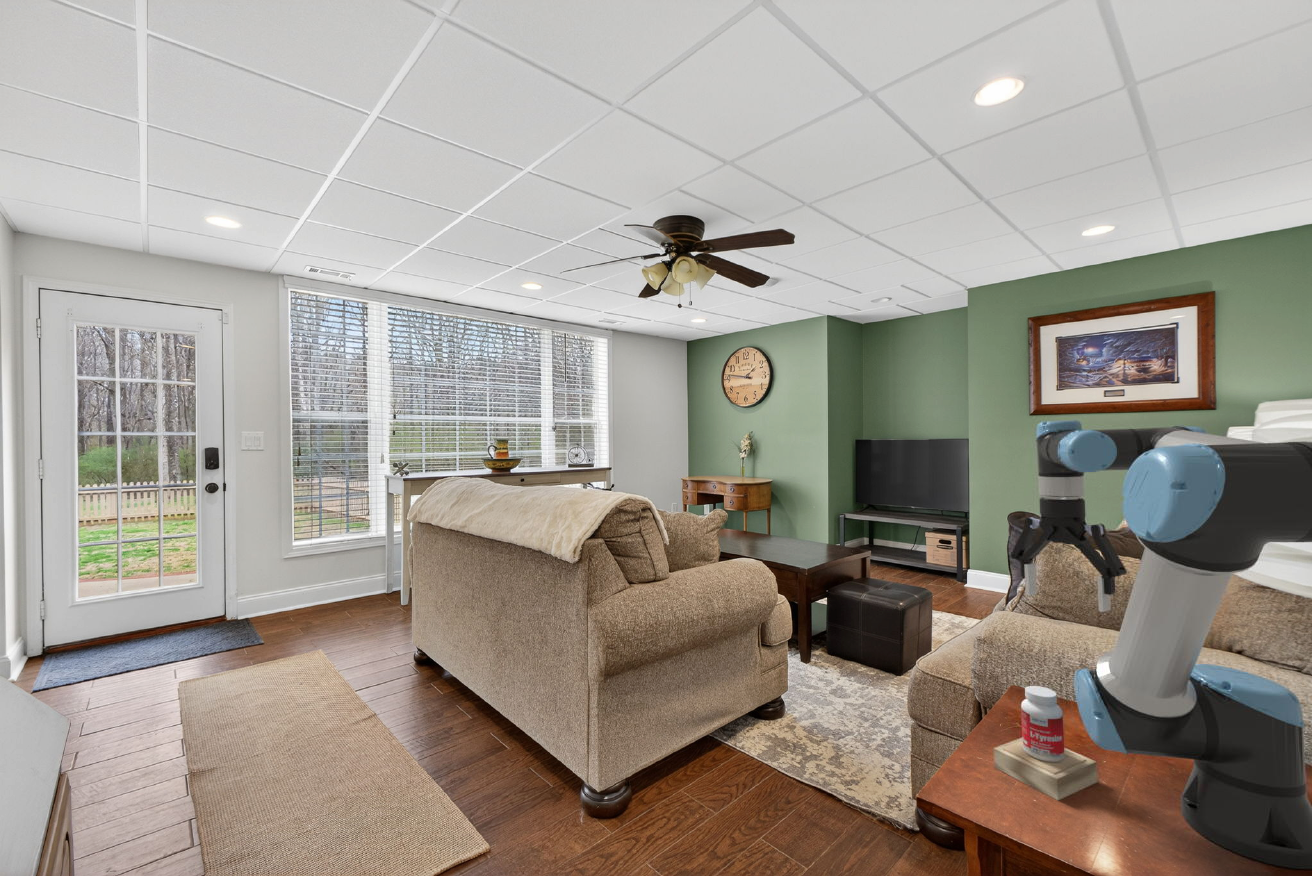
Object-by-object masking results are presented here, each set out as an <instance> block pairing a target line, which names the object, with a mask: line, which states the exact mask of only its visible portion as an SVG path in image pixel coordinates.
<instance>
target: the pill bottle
mask: <svg viewBox="0 0 1312 876" xmlns="http://www.w3.org/2000/svg"><path fill="white" fill-rule="evenodd" d="M1024 695H1025V699H1024V700H1022V701H1021V705H1020V707H1021V708H1020V710H1021V711H1020V713H1021V733H1022V737H1021V738H1022V740H1023V749H1024V750H1025V752H1026V753H1027V754H1029V755H1030V756H1032V757H1034V758H1036V759H1039V760H1043V761H1049V762H1059V761H1061V760H1063V759H1064V748H1065V734H1064V733H1065V729H1064V713H1063V710H1062V708H1061V707H1060V705H1058V704H1057V703H1058V695H1057V692H1055V691H1054V690H1053V689H1052V688H1048V687H1045V686H1038V685H1030V686H1026V687H1025V688H1024Z"/></svg>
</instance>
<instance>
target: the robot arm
mask: <svg viewBox="0 0 1312 876" xmlns="http://www.w3.org/2000/svg"><path fill="white" fill-rule="evenodd" d="M1035 441H1036V451H1037V455H1036V456H1037V468H1038V469H1037V473H1038V494H1039V495H1040V496H1042V497H1040V498H1039V514H1040V519H1039V518H1037V517H1035V516H1031V517H1025V519H1024V523H1023V525H1024V526H1023V529H1022V531H1021V534H1020V535H1019V538H1018V539H1017V541H1016V544H1015V545H1014V547H1013V550H1012V551H1011V553H1010V558H1011V559H1013V560H1016V561H1018V562H1019V563H1020V574H1021V575H1020V576H1021V577H1022V579H1024V584H1025V585H1024V586H1025V596H1029V597H1030V596H1033V595H1037V594H1038V588H1037V584H1038V583H1037V565H1036V562H1033V561H1034V559H1035V558H1036V557H1037V556H1038V555H1039V554H1040V553H1041V552H1042V551H1043V550H1044V549H1045V548H1046V547H1047V546H1048V544H1050V543H1051V542H1052V543H1053V544H1054V543H1055V544H1059V543H1062V544H1064V545H1069V546H1070V545H1073V546H1074V547H1075V548H1077V549H1078V551H1080V552H1081V553H1082V554H1083V556H1084V557H1085V558H1086V559H1087V560H1088V562H1090V564H1091V565H1092V566H1093V567H1094V568H1095V569H1096V570H1097V572H1098V573H1099V574H1100V576H1097V578H1096V579H1097V581H1096V582H1097V602H1098V604H1097V605H1098V612H1101V613H1105V612H1108V611H1111V610H1112V603H1111V595H1113V594H1114V595H1115V593H1116V580H1115V578H1116V577H1121V576H1125V575H1127V573H1128V571H1127V568H1125V565H1124V564H1123V562H1122V560H1121V558H1120V557H1119V555H1118V553H1117V552H1116V550H1115V548H1114V547H1113V544H1112V543H1111V542H1110V540H1109V538H1108V536H1107V533H1106V531H1107V530H1106V526H1105V525H1104V524H1103V523H1097V524H1087V522H1086V500H1085V499H1084V498H1082V497H1083V496H1085V478H1084V476H1085V474H1084V473H1097V472H1101V471H1127V473H1126V475H1125V478H1124V481H1123V486H1122V491H1121V496H1122V497H1123V501H1122V503H1121V506H1122V513H1123V516H1124V519H1125V522H1126V524H1127V526H1128V528H1129V529H1130V530H1131V531H1132V533H1133V534H1135V537H1136V539H1137V541H1139V543H1140V545H1142V546H1143V548H1144V550H1143V553H1142V557H1141V560H1140V563H1139V565H1138V569H1137V572H1136V576H1135V580H1134V582H1133V586H1132V589H1131V593H1130V596H1129V599H1128V603H1127V606H1126V610H1125V613H1124V617H1123V620H1122V622H1121V625H1120V630H1119V633H1118V636H1117V640H1116V643H1115V646H1114V649H1111V650H1109V651H1106V652H1105V653H1103V654H1102V655H1101V656H1100V657H1099V658H1098V660H1097V662H1096V665H1095V669H1089V668H1087V667H1086V668H1082V669H1081V668H1080V669H1078V670H1077V669H1076V671H1075V672H1074V675H1073V689H1074V695H1075V700H1076V704H1077V708H1078V711H1079V715H1080V718H1081V721H1082V723H1083V726H1084V728H1085V730H1086V732H1087V734H1088V737H1090V739H1091V740H1092V742H1093V743H1094V744H1095V745H1096V746H1098V747H1099V748H1101V749H1103V750H1105V751H1113V752H1120V753H1122V754H1125V755H1128V754H1131V755H1132V754H1133V755H1140V756H1141V755H1142V756H1143V755H1144V756H1153V757H1154V756H1155V757H1164V758H1165V757H1166V758H1174V759H1175V758H1176V759H1185V760H1193V767H1192V770H1191V773H1190V775H1189V776H1188V779H1187V782H1186V784H1185V786H1184V789H1183V792H1182V794H1181V797H1180V806H1181V815H1182V818H1183V819H1184V820H1185V822H1186V823H1187V824H1188V825H1189V826H1190V827H1191V828H1192V829H1193V830H1195V831H1196V832H1197V833H1198V834H1200V835H1202V836H1203V837H1205V838H1206V839H1207V840H1209V841H1211V842H1213V843H1215V844H1216V845H1219V846H1221V847H1222V848H1225V849H1227V850H1229V851H1232V852H1234V853H1236V854H1238V855H1241V856H1243V857H1247V858H1248V859H1252V860H1255V861H1258V862H1262V863H1265V864H1269V865H1273V866H1277V867H1278V866H1279V867H1283V868H1289V869H1296V870H1297V869H1299V870H1311V869H1312V805H1311V802H1310V800H1309V798H1308V795H1307V794H1308V793H1307V783H1306V782H1307V781H1306V780H1307V779H1306V778H1307V777H1306V760H1305V759H1306V758H1305V757H1306V756H1305V739H1304V728H1305V727H1306V724H1305V722H1304V717H1303V711H1302V706H1301V702H1300V699H1299V698H1298V696H1297V695H1296V694H1295V693H1294V692H1292V691H1291V690H1290V689H1288V688H1287V687H1285V686H1283V685H1282V684H1280V683H1277V682H1275V681H1274V680H1271V679H1268V678H1265V677H1262V676H1260V675H1257V674H1254V673H1250V672H1248V671H1244V670H1241V669H1236V668H1232V667H1227V666H1223V665H1218V664H1217V665H1216V664H1211V663H1197V661H1198V659H1199V656H1200V653H1201V652H1202V649H1203V647H1204V644H1205V641H1206V639H1207V637H1208V635H1209V632H1210V630H1211V627H1212V625H1213V622H1214V620H1215V617H1216V615H1217V613H1218V610H1219V608H1220V605H1221V603H1222V600H1223V597H1224V595H1225V593H1226V590H1227V588H1228V585H1229V583H1230V581H1231V578H1232V575H1233V574H1238V573H1242V572H1245V571H1248V570H1249V569H1251V568H1253V567H1254V566H1255V565H1256V563H1257V562H1258V560H1259V558H1260V555H1261V553H1262V551H1263V549H1264V547H1265V545H1266V544H1268V543H1312V441H1306V440H1305V441H1303V440H1302V441H1286V442H1283V441H1282V442H1261V441H1255V440H1251V439H1250V440H1248V439H1241V438H1238V437H1237V438H1235V437H1229V436H1224V435H1223V436H1222V435H1216V434H1210V433H1208V432H1206V430H1205V429H1204V428H1203V427H1199V426H1184V425H1183V426H1182V425H1175V426H1174V425H1173V426H1168V427H1145V428H1144V427H1143V428H1141V427H1140V428H1112V429H1111V428H1109V429H1107V428H1106V429H1082V424H1081V422H1080V421H1079V420H1075V419H1074V420H1073V419H1072V420H1054V421H1052V420H1051V421H1041V422H1039V423H1038V424H1037V425H1036V436H1035ZM1038 528H1040V529H1041V530H1042V531H1043V532H1042V533H1041V534H1040V536H1039V537H1038V538H1037V540H1036V541H1035V542H1034V543H1033V544H1032V545H1031V546H1030V543H1031V540H1032V539H1033V537H1034V535H1035V533H1036V531H1037V529H1038ZM1087 532H1088V533H1089V535H1090V536H1092V539H1093V542H1094V543H1095V545H1096V546H1097V548H1098V550H1099V552H1100V553H1101V554H1100V553H1099V552H1098V550H1097V549H1096V548H1095V547H1094V546H1093V545H1092V544H1091V541H1090V540H1089V539H1088V538H1087V536H1086V535H1085V534H1086V533H1087ZM1029 546H1030V547H1029ZM1028 547H1029V548H1028Z"/></svg>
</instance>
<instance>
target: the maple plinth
mask: <svg viewBox="0 0 1312 876" xmlns="http://www.w3.org/2000/svg"><path fill="white" fill-rule="evenodd" d="M993 762H994V763H993V766H994V769H995V770H998V771H1000V772H1003V773H1005V774H1006V775H1008V776H1010V777H1011V778H1014V779H1016V780H1017V781H1020V782H1022V783H1024V784H1026V785H1027V786H1029V787H1031V788H1033V789H1035V790H1037V791H1039V792H1041V793H1043V794H1045V795H1046V796H1049V797H1051V798H1053V799H1054V800H1056V801H1060V800H1063V799H1065V798H1066V797H1069V796H1070V795H1071V796H1072V795H1073V794H1076V793H1077V792H1080V791H1082V790H1083V789H1085V788H1086V789H1087V787H1090V786H1093V785H1095V784H1096V783H1098V770H1097V769H1098V767H1097V761H1096V760H1093V759H1091V758H1089V757H1086V756H1085V755H1082V754H1080V753H1077V752H1075V751H1073V750H1070V749H1068V748H1066V747H1064V759H1063V760H1061V761H1059V762H1049V761H1043V760H1039V759H1036V758H1034V757H1032V756H1030V755H1029V754H1027V753H1026V752H1025V750H1024V749H1023V740H1022V737H1020V738H1017V739H1014V740H1011V741H1008V742H1007V743H1004V744H1000V745H999V746H996V747H995V746H994V747H993Z"/></svg>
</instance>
